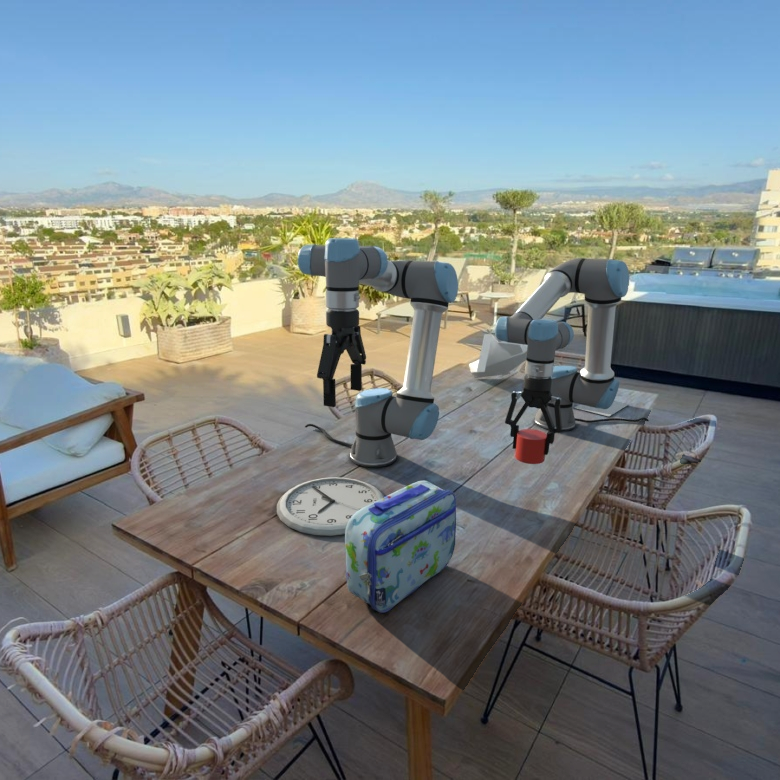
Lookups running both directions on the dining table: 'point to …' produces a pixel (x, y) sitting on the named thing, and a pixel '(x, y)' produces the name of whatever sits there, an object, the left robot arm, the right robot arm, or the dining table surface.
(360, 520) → the lunch box
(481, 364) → the white plastic object
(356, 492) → the wall clock
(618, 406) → the invitation card
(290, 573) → the dining table surface
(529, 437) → the canister
